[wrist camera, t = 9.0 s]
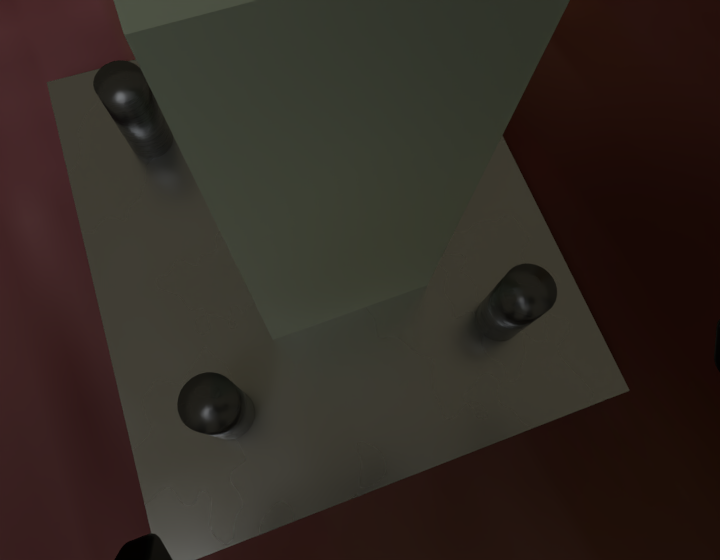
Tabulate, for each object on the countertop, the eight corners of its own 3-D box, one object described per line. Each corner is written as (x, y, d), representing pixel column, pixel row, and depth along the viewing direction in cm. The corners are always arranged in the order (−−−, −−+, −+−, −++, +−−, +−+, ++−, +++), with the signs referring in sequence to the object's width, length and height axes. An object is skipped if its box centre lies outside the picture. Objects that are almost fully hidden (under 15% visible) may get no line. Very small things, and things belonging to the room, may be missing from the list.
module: (427, 285, 18) (616, -94, 6) (272, 340, 17) (124, 35, 5) (359, 126, 19) (396, -420, 7) (215, 170, 19) (3, -357, 7)
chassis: (611, 395, 18) (689, 374, 14) (173, 565, 16) (119, 597, 12) (422, 9, 23) (440, -90, 19) (62, 103, 20) (-3, 15, 17)
